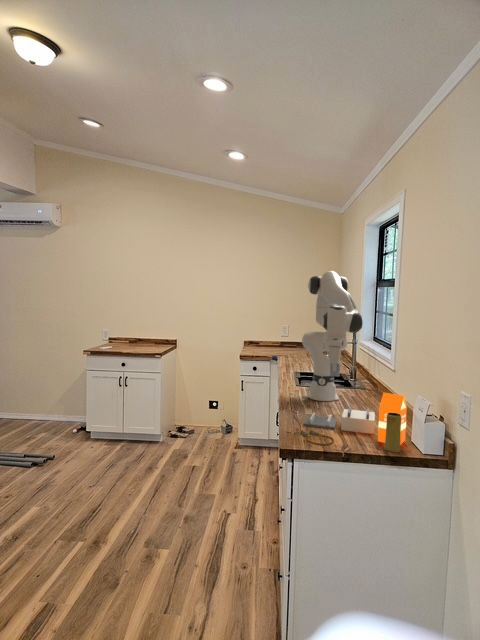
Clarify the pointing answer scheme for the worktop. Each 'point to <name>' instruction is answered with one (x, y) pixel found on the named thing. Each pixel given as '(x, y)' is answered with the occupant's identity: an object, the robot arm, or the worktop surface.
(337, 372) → the plug
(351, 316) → the robot arm
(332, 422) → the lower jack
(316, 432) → the coiled cable
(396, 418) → the vase
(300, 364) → the worktop surface
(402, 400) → the orange juice
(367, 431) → the block
